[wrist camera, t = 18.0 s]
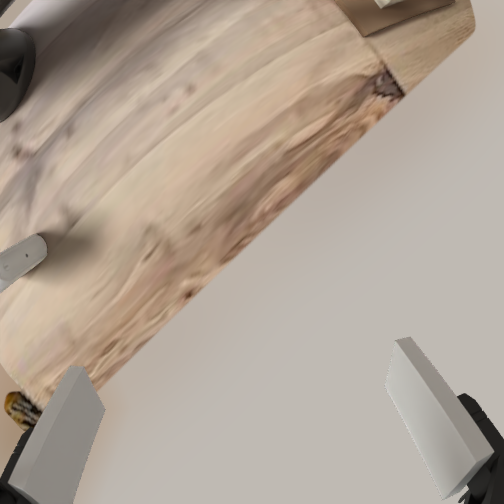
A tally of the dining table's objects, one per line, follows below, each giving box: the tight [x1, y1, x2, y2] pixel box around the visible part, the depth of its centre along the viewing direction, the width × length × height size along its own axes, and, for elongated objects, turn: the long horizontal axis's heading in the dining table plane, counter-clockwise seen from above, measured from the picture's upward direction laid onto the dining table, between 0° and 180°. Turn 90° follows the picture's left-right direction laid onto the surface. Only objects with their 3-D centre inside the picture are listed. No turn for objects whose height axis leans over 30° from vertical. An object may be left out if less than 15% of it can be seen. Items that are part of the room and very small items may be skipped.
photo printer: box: [0, 234, 47, 293], centre depth 30 cm, size 10×4×12 cm, turn 115°
